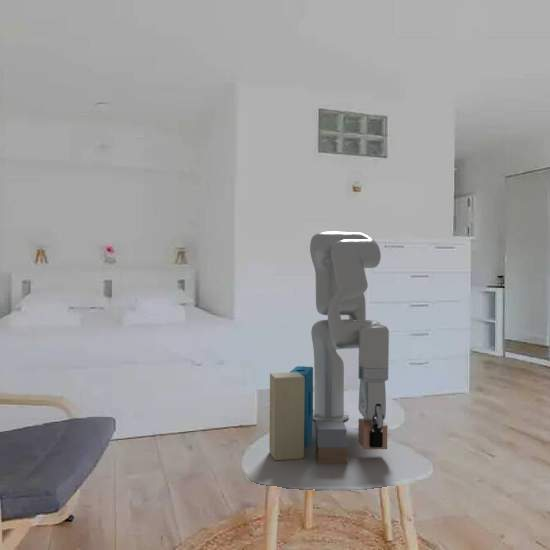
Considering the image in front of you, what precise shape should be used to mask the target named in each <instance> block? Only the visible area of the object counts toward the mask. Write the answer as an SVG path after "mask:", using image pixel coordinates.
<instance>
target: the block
mask: <svg viewBox="0 0 550 550" xmlns="http://www.w3.org/2000/svg"><path fill="white" fill-rule="evenodd" d="M291 372H298V373H300V374H301V375H303V376H304V377H305V405H304V448H307V447H308V446H309V445H310V443H311V441H312V439H313V421H314V420H313V410H314V366H303V365H302V366H300V365H297V366H295V367H294V368H293V369H292V370H290V371H289V372H288V373H291Z"/></svg>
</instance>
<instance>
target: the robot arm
mask: <svg viewBox="0 0 550 550" xmlns="http://www.w3.org/2000/svg"><path fill="white" fill-rule="evenodd" d="M380 249H381V248H380V246H379V245H378V243H377V242H376V240H374V239H373V237H370V236H369V235H366V234H365V233H363V232H356V231H355V232H354V231H353V232H352V231H350V232H349V231H348V232H347V231H322V232H317V233H316V234H314V235H313V236H312V237H311V239H310V245H309V255H310V258H311V260H312V265H313V268H314V273H315V306H316V311H317V312H318V314H320V315H323V316H327V319H322V320H318V321H316V322H314V324H313V325H312V327H311V329H310V331H311V333H310V334H311V340H312V347H313V348H312V349H313V361H314V363H313V364H314V366H313V421H315V422H316V421H343V422H344V421H346V420H348V419H349V413H348V412H347V411H345V403H344V402H345V396H344V395H345V365H344V361H343V358H342V357H341V356H340V355H339V353H338V352H337V350H347V349H349V350H351V349H358V377H357V378H358V379H359V381H360V382H359V389H358V391H359V392H358V393H359V394H358V411H359V413H360V414H361V416H362V419H366V420H367V421H369V420H370V424H371V431H370V442H369V446H370V447H371V448H375V447H382V446H383V421H384V420H386V417H387V415H386V413H387V412H386V411H387V404H386V403H387V398H386V397H387V395H386V393H387V392H386V381H389V353H390V352H389V349H390V346H389V344H390V339H389V338H390V334H389V333H390V331H389V328H388V326H387V325H384V324H381V322H379V321H378V320H373V319H366V316H367V314H366V298H365V292H366V291H367V289H368V287H369V284H368V279H367V275H366V272H365V269H374V268H376V267H378V266H379V264H380V262H381V256H382V255H381V250H380ZM341 316H348V318H346V319H342V317H341ZM373 418H377V419H373ZM374 422H376V423H375V425H374Z"/></svg>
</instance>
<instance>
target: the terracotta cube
mask: <svg viewBox="0 0 550 550" xmlns="http://www.w3.org/2000/svg"><path fill="white" fill-rule="evenodd" d="M373 419H377V418H376V417H375V418H373ZM375 423H376V422H374V425H375ZM357 429H358V433H357V435H358V436H357V437H358V438H357V439H358V443H359V445H360V446H361V447H362V449H363V450H366V451H367V450H369V451H370V450H387V449H388V424H387V423H386V422H385V421H384V420H383V446H382V447H375V448H371V447H370V446H369V442H370V431H371V424H370V420H369V421H367V420H366V419H363V418H358V428H357Z"/></svg>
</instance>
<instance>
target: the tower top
mask: <svg viewBox="0 0 550 550" xmlns="http://www.w3.org/2000/svg"><path fill="white" fill-rule="evenodd" d="M316 440H317V445H318V447H346V445H347V427H346V426H345V423H344V421H316V420H315V441H316Z"/></svg>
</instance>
